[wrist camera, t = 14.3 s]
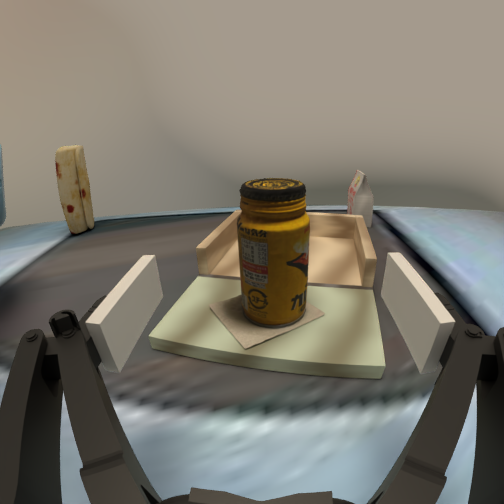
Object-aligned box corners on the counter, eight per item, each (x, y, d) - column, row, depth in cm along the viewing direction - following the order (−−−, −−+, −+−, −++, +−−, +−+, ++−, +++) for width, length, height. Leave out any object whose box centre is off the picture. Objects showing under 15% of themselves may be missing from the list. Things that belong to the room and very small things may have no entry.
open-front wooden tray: (152, 348, 25) (139, 303, 23) (238, 238, 50) (236, 209, 48) (381, 378, 20) (396, 330, 18) (359, 245, 45) (362, 215, 43)
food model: (80, 225, 64) (68, 145, 56) (102, 222, 65) (91, 140, 57) (61, 239, 55) (46, 150, 47) (85, 236, 56) (70, 143, 48)
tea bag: (363, 217, 59) (366, 170, 55) (371, 227, 53) (374, 175, 49) (347, 216, 60) (349, 169, 56) (352, 226, 54) (355, 174, 50)
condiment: (325, 315, 27) (333, 184, 22) (245, 350, 23) (235, 199, 18) (280, 283, 32) (279, 173, 28) (208, 307, 29) (194, 184, 24)
